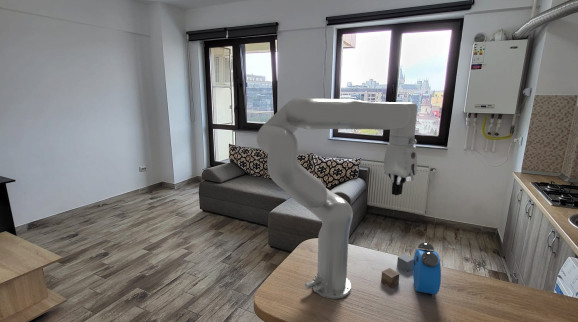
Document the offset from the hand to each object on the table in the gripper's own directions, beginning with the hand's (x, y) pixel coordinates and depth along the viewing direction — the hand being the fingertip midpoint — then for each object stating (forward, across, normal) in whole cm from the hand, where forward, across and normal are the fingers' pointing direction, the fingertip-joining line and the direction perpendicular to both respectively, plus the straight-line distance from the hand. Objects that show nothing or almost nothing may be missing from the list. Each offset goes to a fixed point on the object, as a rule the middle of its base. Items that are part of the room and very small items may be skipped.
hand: (396, 194), depth 99 cm
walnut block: (+29, -5, +6) cm, 30 cm away
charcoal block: (+29, -2, -6) cm, 30 cm away
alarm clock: (+29, -13, -1) cm, 32 cm away
